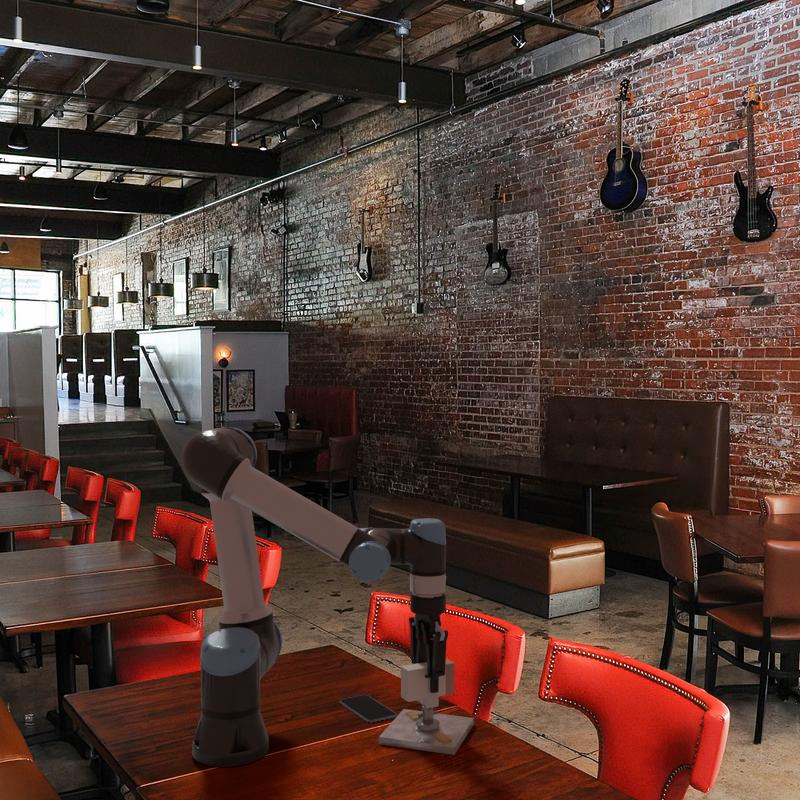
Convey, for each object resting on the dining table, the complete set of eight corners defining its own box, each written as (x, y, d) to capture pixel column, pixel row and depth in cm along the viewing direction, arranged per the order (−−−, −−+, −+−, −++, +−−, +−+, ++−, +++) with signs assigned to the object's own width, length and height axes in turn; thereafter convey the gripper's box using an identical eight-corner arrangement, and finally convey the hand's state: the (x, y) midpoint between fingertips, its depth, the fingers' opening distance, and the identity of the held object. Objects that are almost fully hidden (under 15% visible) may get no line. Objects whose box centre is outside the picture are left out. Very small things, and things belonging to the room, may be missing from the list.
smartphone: (366, 694, 208) (398, 714, 195) (366, 697, 208) (398, 718, 195) (337, 699, 204) (368, 721, 191) (338, 703, 204) (368, 725, 191)
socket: (454, 754, 176) (454, 722, 175) (379, 744, 181) (379, 712, 180) (473, 724, 191) (473, 695, 190) (403, 715, 196) (403, 686, 196)
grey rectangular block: (408, 709, 182) (408, 670, 181) (400, 703, 185) (400, 665, 184) (454, 700, 186) (454, 663, 186) (446, 695, 189) (446, 658, 189)
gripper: (463, 599, 179) (462, 713, 180) (425, 583, 194) (425, 688, 194) (430, 604, 176) (430, 720, 177) (395, 586, 190) (394, 693, 191)
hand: (427, 703), depth 185 cm, fingers closed on grey rectangular block, 3 cm apart
